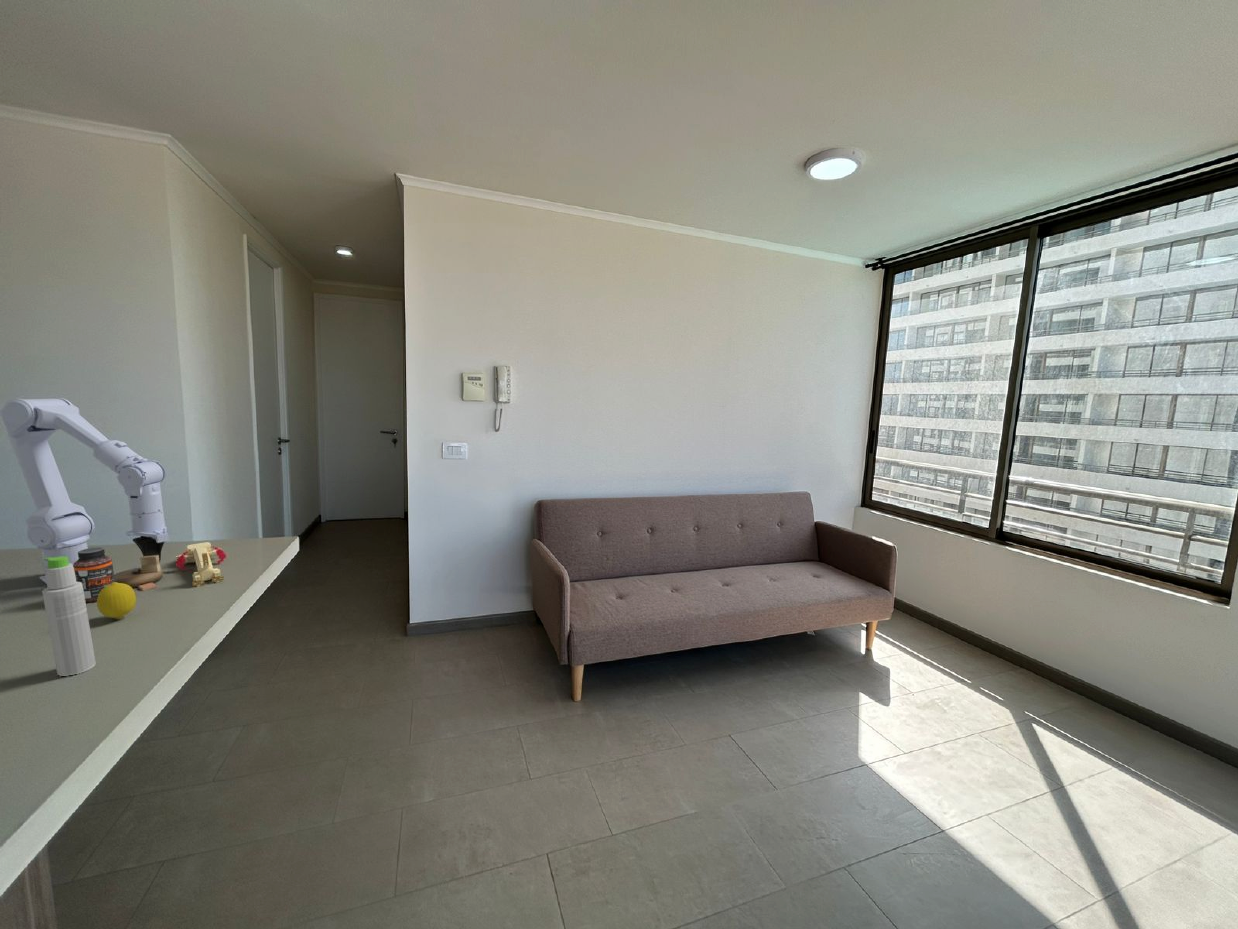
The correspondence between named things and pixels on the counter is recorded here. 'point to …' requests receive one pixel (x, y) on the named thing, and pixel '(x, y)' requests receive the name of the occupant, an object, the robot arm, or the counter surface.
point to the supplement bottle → (93, 572)
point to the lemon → (116, 600)
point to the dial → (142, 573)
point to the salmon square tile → (147, 586)
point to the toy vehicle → (202, 562)
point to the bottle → (67, 618)
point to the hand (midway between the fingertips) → (153, 564)
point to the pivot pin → (136, 570)
